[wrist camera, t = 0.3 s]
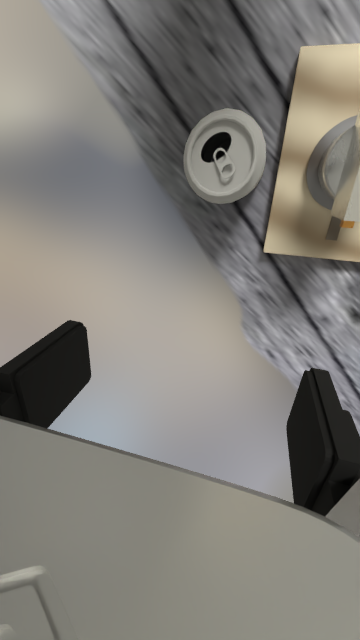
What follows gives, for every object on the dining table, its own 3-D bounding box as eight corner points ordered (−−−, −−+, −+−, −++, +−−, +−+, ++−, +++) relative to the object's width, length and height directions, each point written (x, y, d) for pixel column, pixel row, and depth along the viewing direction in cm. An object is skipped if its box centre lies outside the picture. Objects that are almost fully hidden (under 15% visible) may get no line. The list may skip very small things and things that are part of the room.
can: (245, 113, 31) (237, 78, 21) (276, 174, 33) (283, 169, 23) (192, 158, 35) (162, 146, 24) (222, 211, 36) (207, 221, 26)
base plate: (299, 52, 28) (302, 41, 26) (474, 44, 25) (494, 31, 23) (263, 249, 37) (263, 253, 35) (388, 262, 34) (396, 267, 32)
